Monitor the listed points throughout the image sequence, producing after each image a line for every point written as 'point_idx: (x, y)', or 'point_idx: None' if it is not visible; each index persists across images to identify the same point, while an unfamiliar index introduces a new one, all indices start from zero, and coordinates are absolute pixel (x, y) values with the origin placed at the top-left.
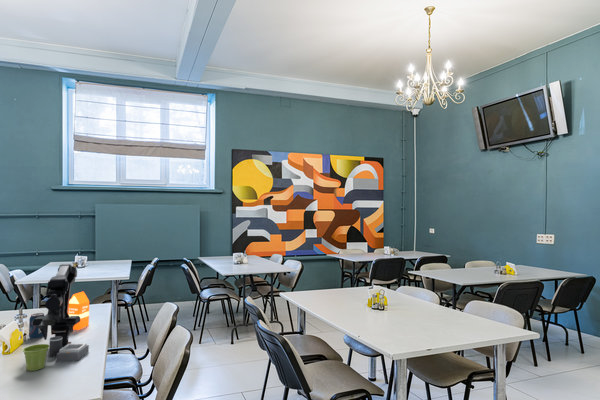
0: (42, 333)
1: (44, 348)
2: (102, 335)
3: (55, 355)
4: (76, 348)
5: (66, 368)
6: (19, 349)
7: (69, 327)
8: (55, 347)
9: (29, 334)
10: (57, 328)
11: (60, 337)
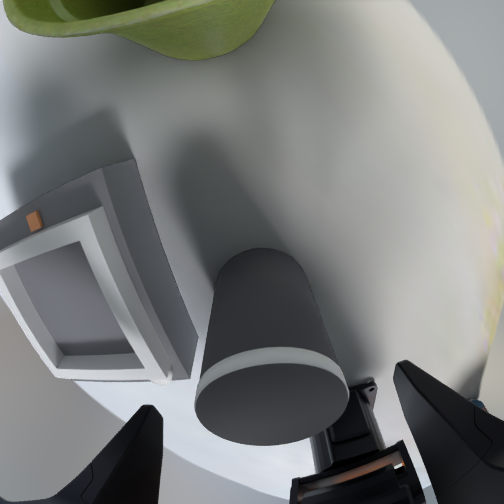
0: (465, 404)
1: (134, 27)
2: (231, 477)
3: (231, 264)
4: (69, 324)
5: (11, 94)
6: (495, 317)
7: (30, 502)
8: (230, 305)
9: (484, 406)
10: (368, 491)
11: (223, 425)
